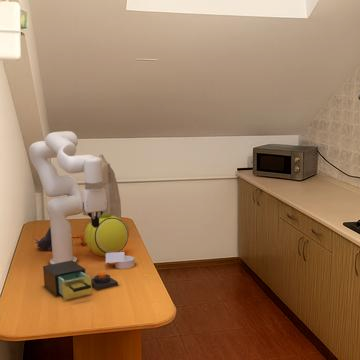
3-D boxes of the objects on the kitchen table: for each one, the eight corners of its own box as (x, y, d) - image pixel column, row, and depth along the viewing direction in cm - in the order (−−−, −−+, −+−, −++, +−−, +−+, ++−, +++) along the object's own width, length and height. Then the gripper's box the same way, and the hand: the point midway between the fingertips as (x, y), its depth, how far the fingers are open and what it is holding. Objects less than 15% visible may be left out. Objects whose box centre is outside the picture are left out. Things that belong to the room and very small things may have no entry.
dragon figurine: (87, 231, 291) (38, 226, 279) (83, 253, 291) (34, 249, 280) (84, 226, 300) (36, 221, 289) (80, 248, 301) (32, 244, 290)
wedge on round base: (106, 269, 255) (134, 267, 257) (105, 255, 254) (134, 254, 256) (106, 263, 263) (134, 261, 266) (106, 250, 262) (134, 248, 265)
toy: (77, 253, 280) (73, 195, 275) (116, 246, 293) (114, 190, 288) (95, 265, 262) (91, 203, 256) (136, 256, 274) (134, 197, 269)
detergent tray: (96, 296, 220) (95, 279, 219) (69, 303, 213) (67, 285, 212) (79, 283, 235) (78, 267, 233) (52, 290, 228) (51, 273, 226)
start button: (107, 277, 235) (107, 273, 235) (99, 279, 233) (99, 275, 233) (104, 275, 238) (104, 271, 238) (96, 277, 236) (96, 273, 235)
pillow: (125, 240, 302) (121, 162, 295) (99, 243, 298) (94, 164, 291) (116, 222, 343) (112, 153, 336) (93, 224, 339) (89, 154, 331)
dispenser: (86, 289, 230) (85, 268, 229) (56, 296, 223) (55, 275, 221) (73, 280, 242) (72, 260, 240) (44, 286, 234) (42, 266, 233)
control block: (117, 285, 234) (117, 277, 234) (97, 290, 229) (97, 282, 228) (106, 278, 243) (106, 271, 242) (87, 283, 238) (86, 275, 237)
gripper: (106, 182, 245) (107, 222, 249) (73, 186, 236) (75, 227, 240) (113, 185, 239) (115, 226, 243) (80, 189, 231) (82, 231, 234)
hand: (95, 226), depth 241 cm, fingers closed
